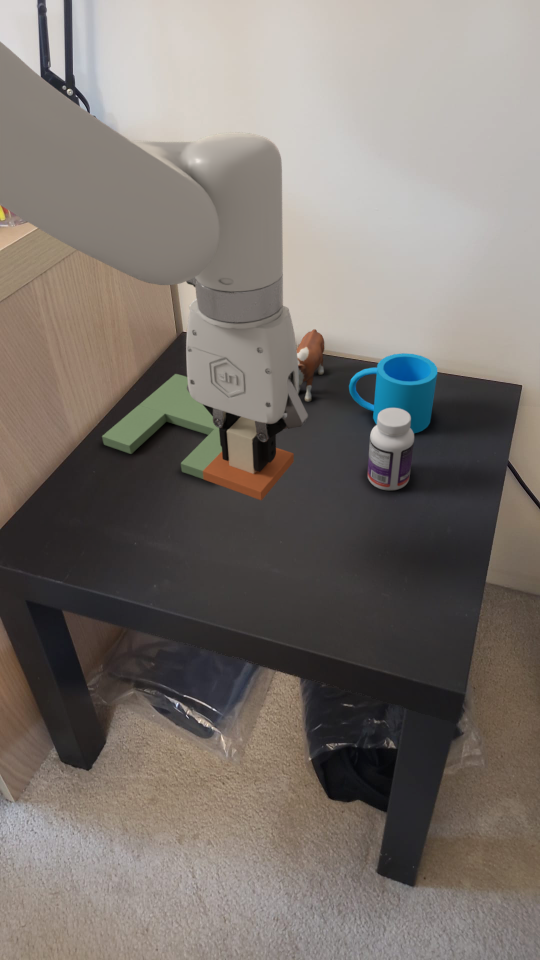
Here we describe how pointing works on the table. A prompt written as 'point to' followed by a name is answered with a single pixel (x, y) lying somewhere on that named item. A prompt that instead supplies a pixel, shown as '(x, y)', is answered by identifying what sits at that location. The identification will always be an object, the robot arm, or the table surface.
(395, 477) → the pill bottle
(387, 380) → the mug
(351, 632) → the table surface
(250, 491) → the terracotta pad
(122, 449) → the green mat
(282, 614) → the table surface
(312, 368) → the bull figurine
